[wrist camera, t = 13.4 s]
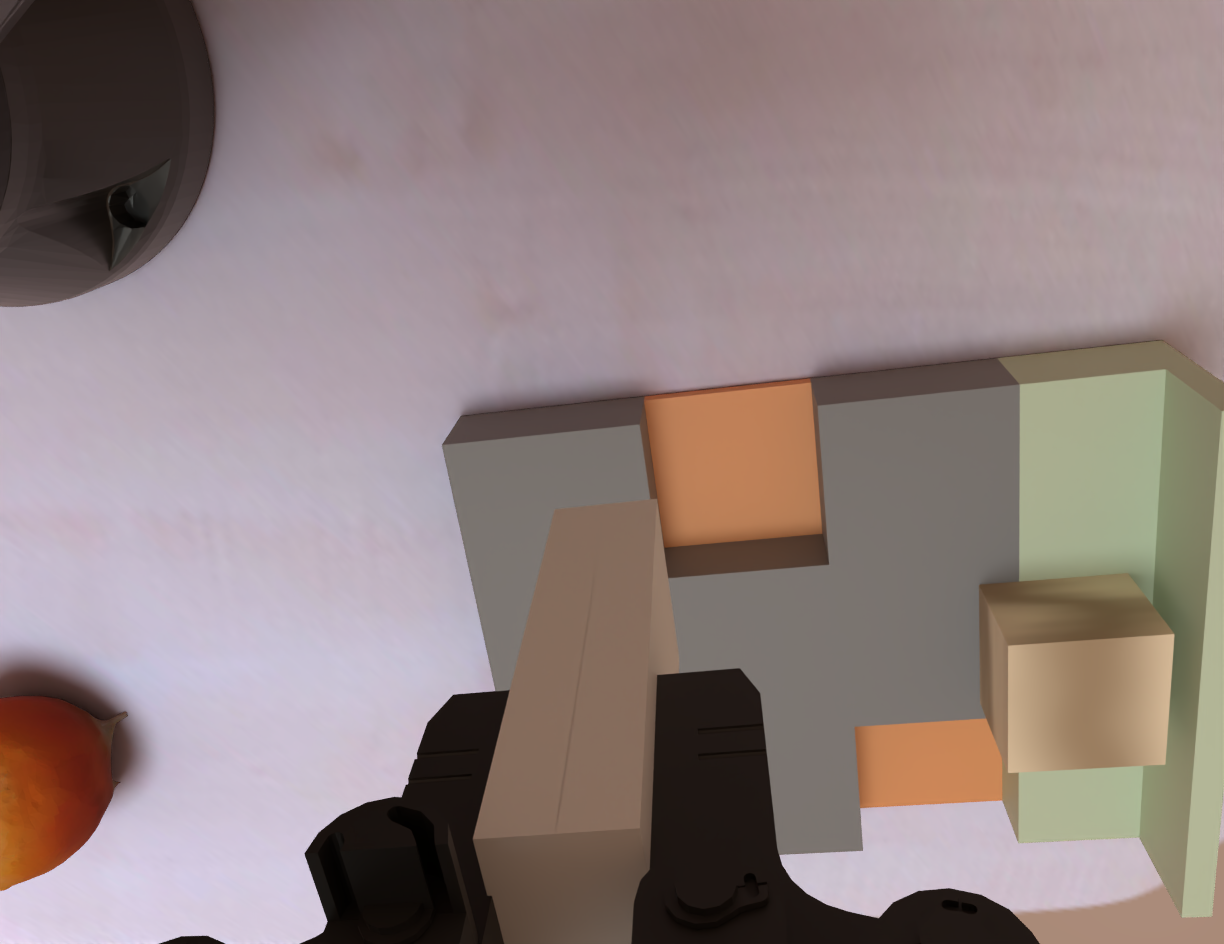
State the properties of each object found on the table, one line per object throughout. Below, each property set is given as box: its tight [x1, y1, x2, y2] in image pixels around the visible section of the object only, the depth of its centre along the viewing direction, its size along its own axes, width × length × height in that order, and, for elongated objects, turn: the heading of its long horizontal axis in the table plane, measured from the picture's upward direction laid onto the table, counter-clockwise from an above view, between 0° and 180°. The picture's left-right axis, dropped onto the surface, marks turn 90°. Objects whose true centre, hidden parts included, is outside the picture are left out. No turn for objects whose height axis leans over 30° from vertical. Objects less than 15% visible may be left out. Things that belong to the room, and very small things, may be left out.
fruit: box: [0, 696, 128, 891], centre depth 45 cm, size 8×8×8 cm
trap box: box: [442, 340, 1224, 918], centre depth 38 cm, size 25×19×7 cm
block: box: [979, 573, 1175, 773], centre depth 36 cm, size 5×5×4 cm
